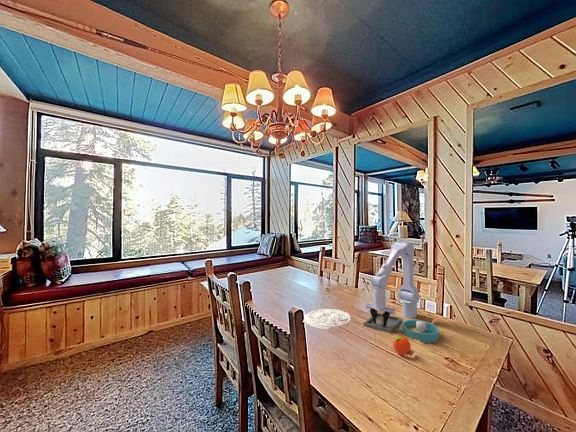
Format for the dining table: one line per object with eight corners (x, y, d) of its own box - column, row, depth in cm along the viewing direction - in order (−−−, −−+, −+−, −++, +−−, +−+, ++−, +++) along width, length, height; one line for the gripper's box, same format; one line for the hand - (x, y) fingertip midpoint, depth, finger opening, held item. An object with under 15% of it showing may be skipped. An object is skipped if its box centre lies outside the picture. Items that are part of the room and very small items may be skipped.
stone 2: (417, 328, 132) (417, 320, 132) (426, 330, 129) (426, 322, 129) (415, 331, 128) (415, 323, 128) (425, 333, 126) (425, 325, 126)
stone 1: (377, 323, 138) (377, 315, 138) (385, 325, 135) (385, 317, 135) (374, 326, 134) (374, 318, 134) (383, 328, 132) (382, 320, 132)
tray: (376, 316, 149) (376, 312, 149) (401, 322, 140) (401, 318, 140) (363, 327, 135) (363, 322, 135) (391, 335, 126) (390, 330, 126)
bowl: (407, 324, 138) (406, 317, 138) (441, 332, 128) (441, 324, 127) (397, 336, 125) (397, 327, 125) (435, 346, 115) (435, 337, 115)
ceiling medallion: (355, 332, 131) (355, 326, 131) (300, 328, 137) (300, 323, 137) (352, 311, 158) (352, 306, 158) (307, 309, 164) (307, 304, 164)
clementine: (398, 359, 106) (398, 342, 106) (387, 350, 112) (387, 334, 112) (414, 355, 108) (414, 339, 108) (402, 347, 115) (402, 331, 115)
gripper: (363, 298, 136) (363, 323, 136) (391, 303, 127) (392, 331, 127) (368, 294, 142) (369, 319, 142) (395, 299, 132) (396, 326, 132)
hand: (380, 324), depth 135 cm, fingers closed on stone 1, 4 cm apart
